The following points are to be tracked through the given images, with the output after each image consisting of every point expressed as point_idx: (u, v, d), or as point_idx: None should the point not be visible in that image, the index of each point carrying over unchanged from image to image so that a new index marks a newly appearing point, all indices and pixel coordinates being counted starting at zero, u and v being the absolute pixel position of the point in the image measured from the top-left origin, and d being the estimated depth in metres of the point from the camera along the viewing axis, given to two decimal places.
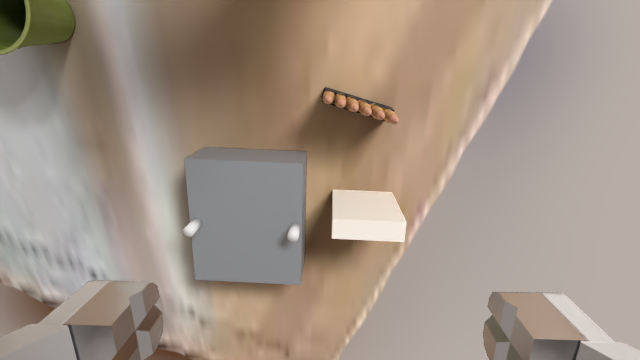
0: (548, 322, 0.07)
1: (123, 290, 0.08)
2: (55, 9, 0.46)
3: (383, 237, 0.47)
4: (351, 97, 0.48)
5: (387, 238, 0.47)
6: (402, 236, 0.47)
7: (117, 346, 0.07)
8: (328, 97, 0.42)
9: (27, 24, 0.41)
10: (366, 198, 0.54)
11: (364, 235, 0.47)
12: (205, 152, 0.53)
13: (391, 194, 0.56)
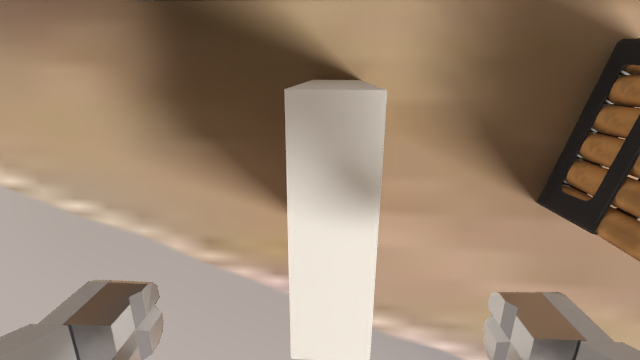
0: (548, 322, 0.07)
1: (123, 290, 0.08)
2: None
3: (304, 294, 0.12)
4: None
5: (301, 307, 0.12)
6: (312, 353, 0.13)
7: (117, 346, 0.07)
8: None
9: None
10: None
11: (308, 228, 0.11)
12: None
13: None
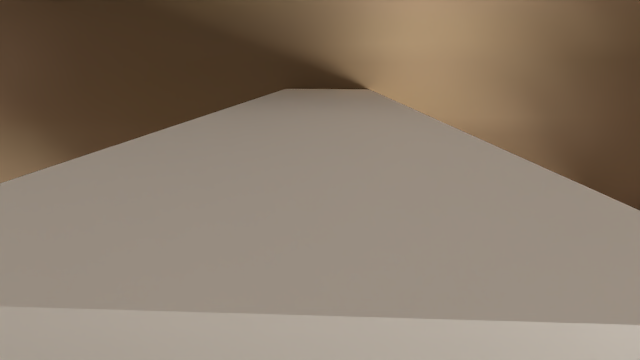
0: None
1: None
2: None
3: None
4: None
5: None
6: None
7: None
8: None
9: None
10: None
11: None
12: None
13: None
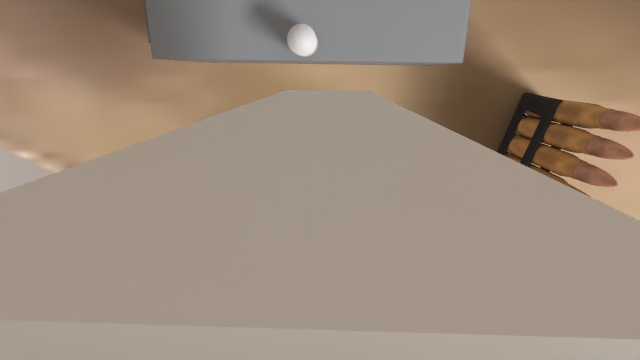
0: None
1: None
2: None
3: None
4: None
5: None
6: None
7: None
8: None
9: None
10: None
11: None
12: None
13: None
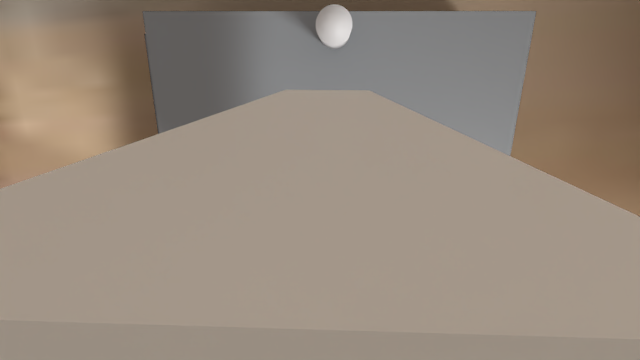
0: None
1: None
2: None
3: None
4: None
5: None
6: None
7: None
8: None
9: None
10: None
11: None
12: None
13: None
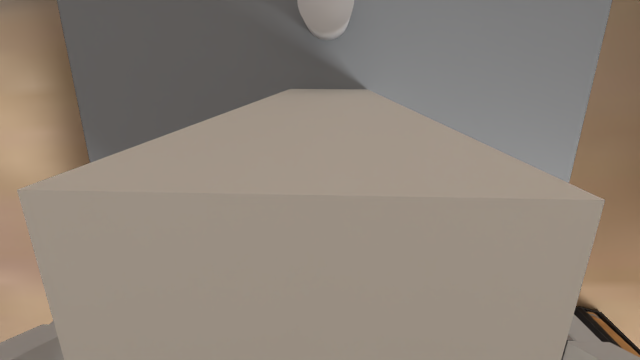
0: None
1: None
2: None
3: None
4: None
5: None
6: None
7: None
8: None
9: None
10: None
11: None
12: None
13: None
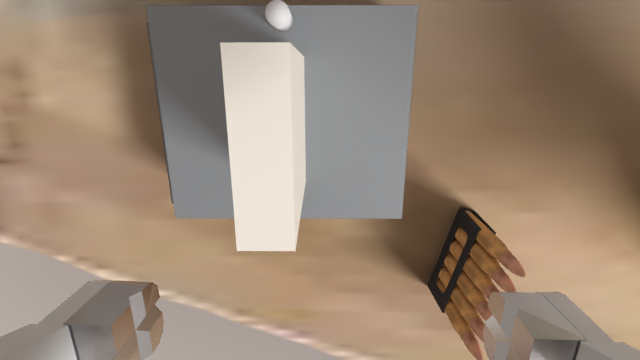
0: (548, 322, 0.07)
1: (123, 290, 0.08)
2: None
3: (243, 198, 0.17)
4: None
5: (241, 208, 0.17)
6: (252, 245, 0.17)
7: (117, 346, 0.07)
8: None
9: None
10: (302, 134, 0.24)
11: (243, 145, 0.16)
12: None
13: None
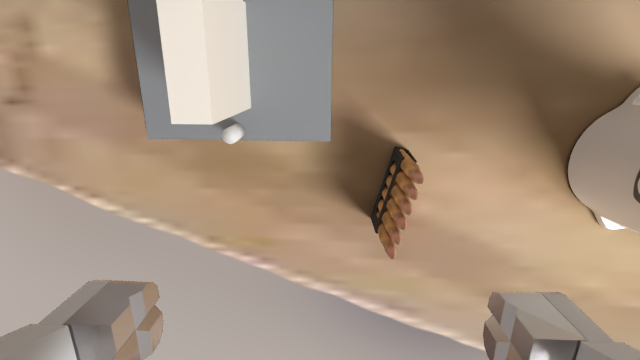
0: (548, 322, 0.07)
1: (123, 290, 0.08)
2: None
3: (173, 82, 0.24)
4: None
5: (173, 90, 0.24)
6: (182, 119, 0.24)
7: (117, 346, 0.07)
8: (423, 180, 0.34)
9: None
10: (239, 60, 0.31)
11: (171, 41, 0.23)
12: None
13: (248, 106, 0.35)
